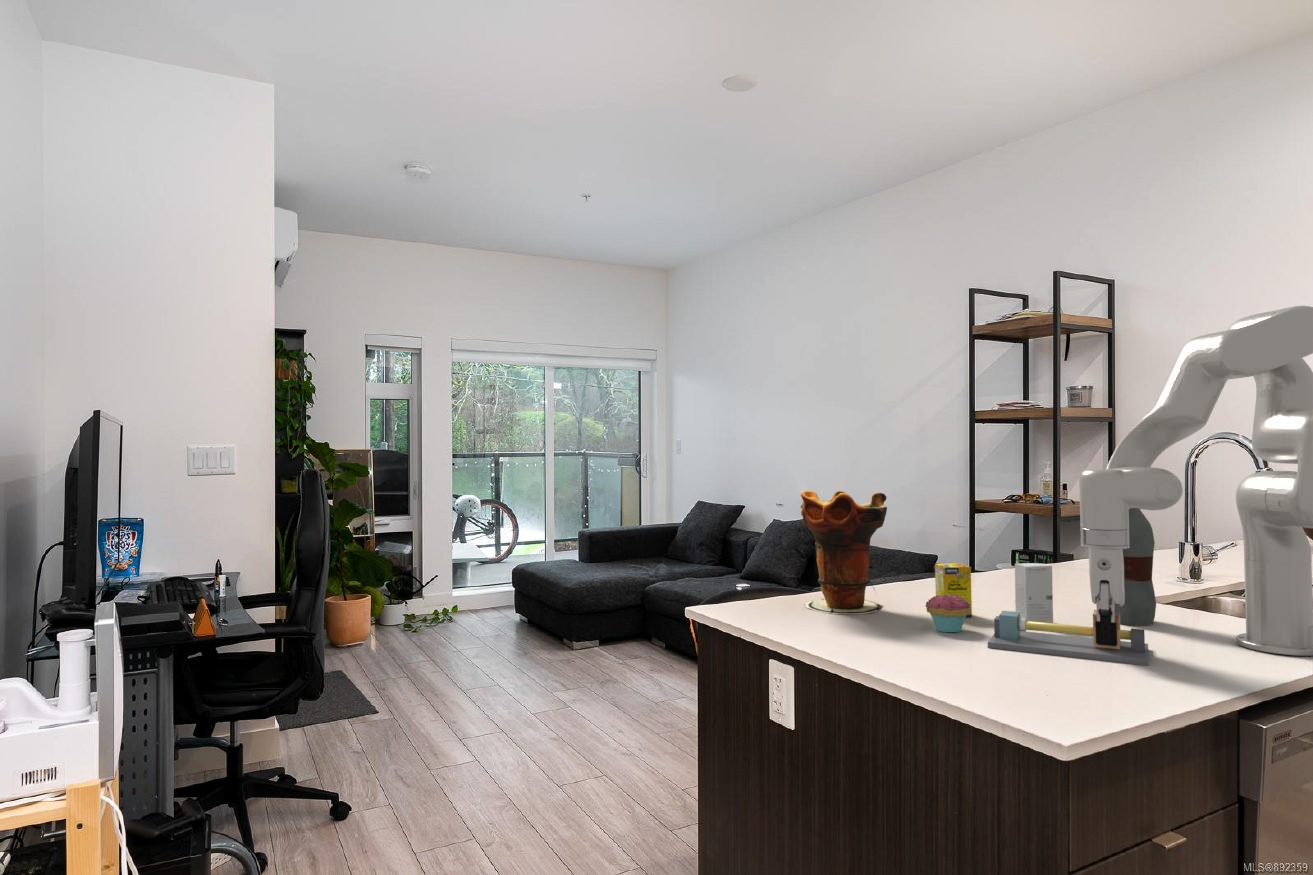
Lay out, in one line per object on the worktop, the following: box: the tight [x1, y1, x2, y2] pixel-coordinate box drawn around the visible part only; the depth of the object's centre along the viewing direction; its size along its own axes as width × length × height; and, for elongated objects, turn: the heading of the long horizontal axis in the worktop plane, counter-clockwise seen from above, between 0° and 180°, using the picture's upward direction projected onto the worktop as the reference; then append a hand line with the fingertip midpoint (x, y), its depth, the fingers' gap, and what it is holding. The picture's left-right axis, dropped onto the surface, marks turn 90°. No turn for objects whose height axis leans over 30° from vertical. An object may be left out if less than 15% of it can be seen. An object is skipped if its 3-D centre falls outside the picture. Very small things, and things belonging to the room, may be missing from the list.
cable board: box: [987, 610, 1150, 667], centre depth 142 cm, size 25×12×5 cm, turn 58°
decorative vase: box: [800, 490, 888, 615], centre depth 183 cm, size 21×23×28 cm
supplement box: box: [934, 562, 973, 618], centre depth 172 cm, size 6×6×11 cm
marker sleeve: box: [1092, 609, 1122, 649], centre depth 139 cm, size 4×5×6 cm
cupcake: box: [925, 570, 971, 633], centre depth 158 cm, size 9×8×12 cm
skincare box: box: [1014, 562, 1054, 623], centre depth 163 cm, size 6×4×12 cm
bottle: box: [1116, 508, 1157, 627], centre depth 163 cm, size 9×9×30 cm
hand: (1107, 640), depth 139 cm, fingers closed on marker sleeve, 4 cm apart
